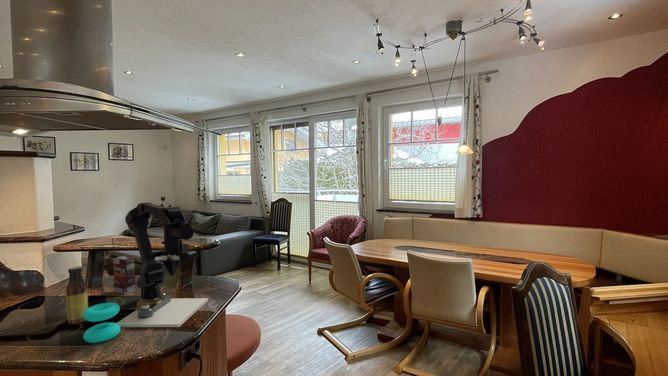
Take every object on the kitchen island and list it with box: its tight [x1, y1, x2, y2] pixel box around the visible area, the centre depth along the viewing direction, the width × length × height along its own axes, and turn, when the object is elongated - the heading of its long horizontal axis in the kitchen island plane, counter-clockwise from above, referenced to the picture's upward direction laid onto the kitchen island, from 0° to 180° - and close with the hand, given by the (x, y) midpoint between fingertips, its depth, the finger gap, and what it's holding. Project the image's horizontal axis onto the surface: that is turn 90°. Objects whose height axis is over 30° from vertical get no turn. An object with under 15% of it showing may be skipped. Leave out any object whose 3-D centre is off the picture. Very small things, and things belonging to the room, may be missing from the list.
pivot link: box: [138, 294, 172, 319], centre depth 128 cm, size 18×5×4 cm, turn 178°
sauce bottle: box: [65, 266, 89, 325], centre depth 120 cm, size 7×6×20 cm
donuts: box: [83, 302, 122, 344], centre depth 108 cm, size 10×10×10 cm
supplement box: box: [112, 256, 136, 295], centre depth 152 cm, size 9×5×16 cm, turn 69°
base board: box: [116, 297, 209, 328], centre depth 127 cm, size 23×25×1 cm
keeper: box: [136, 298, 162, 312], centre depth 127 cm, size 8×3×4 cm, turn 89°
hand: (172, 276), depth 133 cm, fingers closed
